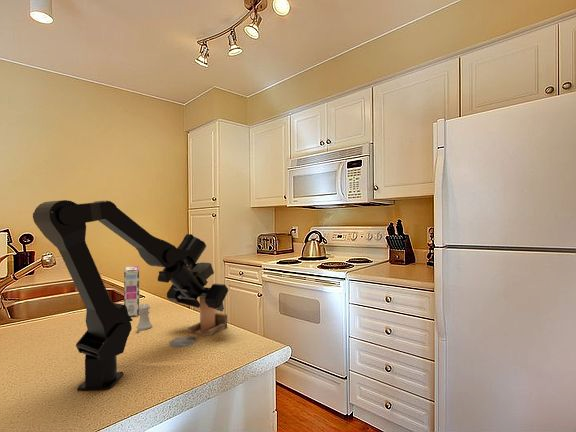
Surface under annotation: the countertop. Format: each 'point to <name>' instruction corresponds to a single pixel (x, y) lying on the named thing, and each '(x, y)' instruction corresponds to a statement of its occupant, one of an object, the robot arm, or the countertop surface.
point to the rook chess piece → (144, 318)
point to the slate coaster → (182, 341)
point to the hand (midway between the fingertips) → (210, 308)
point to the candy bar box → (131, 290)
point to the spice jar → (206, 316)
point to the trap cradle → (220, 326)
